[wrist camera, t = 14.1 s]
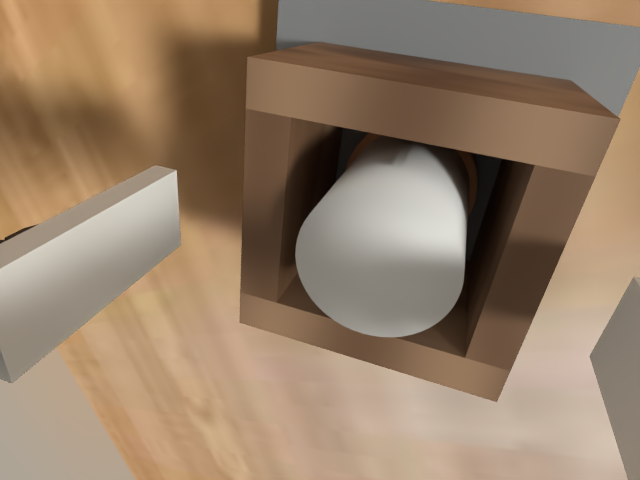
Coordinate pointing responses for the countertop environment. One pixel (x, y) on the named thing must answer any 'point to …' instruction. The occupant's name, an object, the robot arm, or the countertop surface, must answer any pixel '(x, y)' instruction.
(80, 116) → the countertop surface
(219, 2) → the countertop surface
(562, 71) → the square plate with peg
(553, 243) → the collar
